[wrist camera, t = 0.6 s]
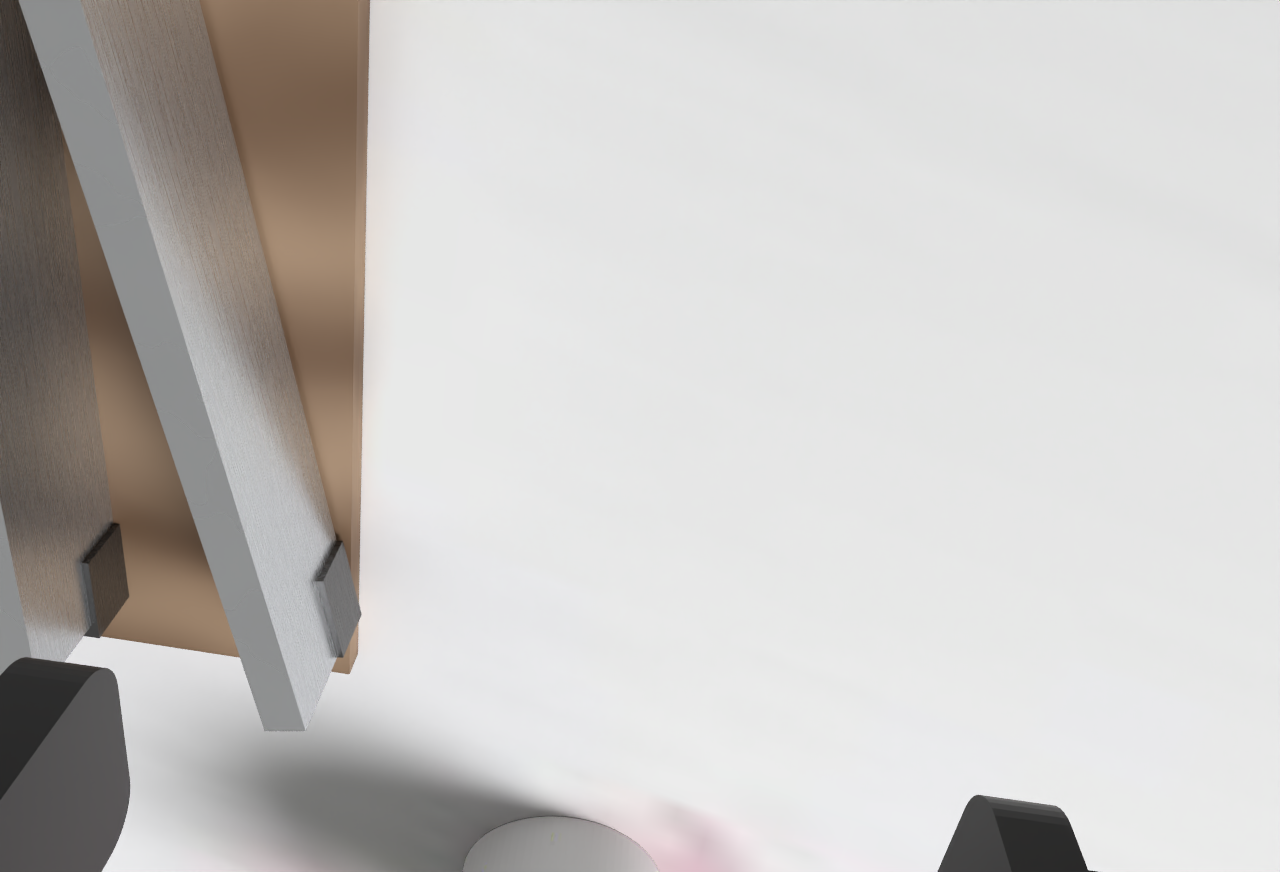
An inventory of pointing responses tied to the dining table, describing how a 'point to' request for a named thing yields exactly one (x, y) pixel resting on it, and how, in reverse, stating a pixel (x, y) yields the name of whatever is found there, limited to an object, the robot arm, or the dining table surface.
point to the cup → (557, 848)
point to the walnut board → (303, 288)
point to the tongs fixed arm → (46, 388)
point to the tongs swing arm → (204, 327)
